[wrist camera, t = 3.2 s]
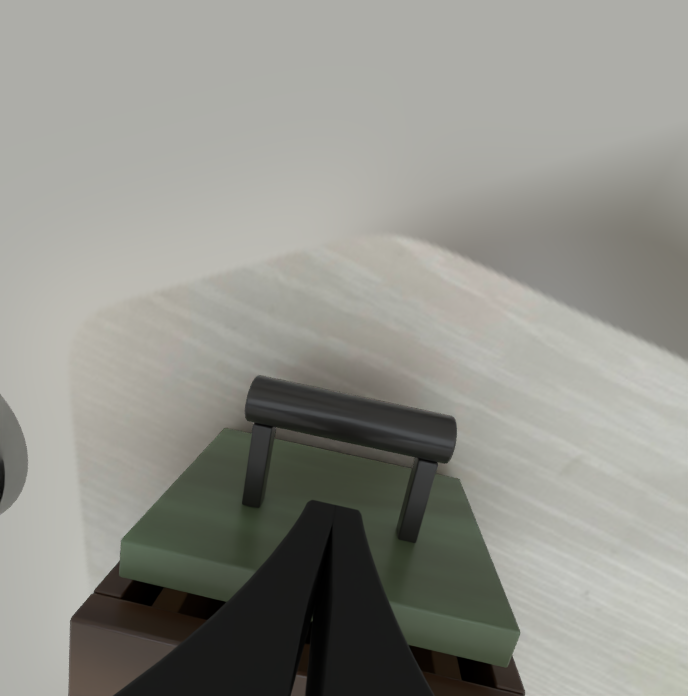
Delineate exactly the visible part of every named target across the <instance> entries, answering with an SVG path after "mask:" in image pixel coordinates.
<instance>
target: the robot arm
mask: <svg viewBox="0 0 688 696" xmlns="http://www.w3.org/2000/svg"><path fill="white" fill-rule="evenodd" d="M312 616H313V619H312ZM311 619H312V629H311V639H310V649H309V659H308V670H307V680H306V690H305V696H435V695H434V694H433V692H432V690H431V688H430V686H429V684H428V683H427V681H426V679H425V677H424V675H423V673H422V671H421V669H420V667H419V666H418V664H417V662H416V660H415V658H414V656H413V654H412V652H411V650H410V648H409V646H408V644H407V641H406V639H405V637H404V635H403V633H402V631H401V629H400V626H399V624H398V622H397V620H396V617H395V615H394V613H393V610H392V608H391V605H390V603H389V601H388V598H387V596H386V593H385V591H384V588H383V585H382V583H381V580H380V577H379V574H378V572H377V569H376V566H375V563H374V560H373V557H372V554H371V551H370V547H369V544H368V541H367V537H366V533H365V529H364V525H363V520H362V515H361V513H360V511H359V510H356V509H352V508H347V507H343V506H338V505H334V504H330V503H325V502H321V501H316V500H310V501H309V502H307V503H306V506H305V508H304V510H303V511H302V513H301V515H300V516H299V518H298V519H297V521H296V522H295V524H294V525H293V527H292V528H291V530H290V531H289V532H288V534H287V535H286V536H285V538H284V539H283V540H282V541H281V543H280V544H279V545H278V546H277V548H276V549H275V550H274V552H273V553H272V554H271V555H270V556H269V558H268V559H267V560H266V561H265V562H264V563H263V564H262V565H261V567H260V568H259V569H258V570H257V571H256V572H255V573H254V574H253V575H252V577H251V578H250V579H249V580H248V581H247V582H246V583H245V584H244V585H243V586H242V587H241V588H240V589H239V590H238V591H237V592H236V593H235V594H234V595H233V596H232V597H231V598H230V599H229V600H228V601H227V602H226V603H225V604H224V605H223V606H222V607H221V608H220V609H219V610H218V611H217V612H216V613H215V614H214V615H212V616H211V617H210V618H209V619H208V620H207V621H206V622H205V623H204V624H202V625H201V626H200V627H199V628H198V629H197V630H195V631H194V632H193V633H192V634H191V635H190V636H189V637H187V638H186V639H185V640H184V641H183V642H182V643H180V644H179V645H178V646H177V647H176V648H174V649H173V650H172V651H171V652H170V653H168V654H167V655H166V656H165V657H163V658H162V659H161V660H160V661H158V662H157V663H156V664H155V665H153V666H152V667H151V668H149V669H148V670H147V671H145V672H144V673H142V674H141V675H140V676H138V677H137V678H136V679H134V680H133V681H132V682H130V683H129V684H128V685H126V686H125V687H124V688H122V689H121V690H120V691H118V692H117V693H116V694H114V695H113V696H291V693H292V689H293V686H294V682H295V678H296V675H297V671H298V667H299V664H300V660H301V656H302V653H303V649H304V645H305V642H306V638H307V634H308V630H309V627H310V623H311Z"/></svg>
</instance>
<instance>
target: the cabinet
mask: <svg viewBox="0 0 688 696" xmlns="http://www.w3.org/2000/svg"><path fill="white" fill-rule="evenodd" d="M119 567H120V561H119V562H118V563H117V565H116V566H115V567H114V568H113V569H112V570H111V571H110V573H109V574H108V575H107V576H106V577H105V578H104V580H103V581H102V582H101V583H100V584H99V585H98V586H97V588H96V589H95V590H94V593H93V594H91V595H90V596H89V598H88V599H87V600H86V601H85V602H84V603H83V605H82V606H81V607H80V608H79V609H78V610H77V612H76V613H75V614H74V615H73V616H72V618H71V620H70V650H69V694H68V696H113V695H114V694H116V693H117V692H118V691H120V690H121V689H122V688H124V687H125V686H126V685H128V684H129V683H130V682H132V681H133V680H134V679H136V678H137V677H138V676H140V675H141V674H142V673H144V672H145V671H147V670H148V669H149V668H151V667H152V666H153V665H155V664H156V663H157V662H158V661H160V660H161V659H162V658H163V657H165V656H166V655H167V654H168V653H170V652H171V651H172V650H173V649H174V648H176V647H177V646H178V645H179V644H180V643H182V642H183V641H184V640H185V639H186V638H187V637H189V636H190V635H191V634H192V633H193V632H194V631H195V630H197V629H198V628H199V627H200V626H201V625H202V624H204V623H205V622H206V621H207V620H206V619H202V618H198V617H194V616H189V615H185V614H181V613H177V612H173V611H168V610H164V609H160V608H156V607H151V606H152V605H153V603H154V602H155V600H156V599H157V597H158V595H159V594H160V592H161V591H162V589H163V588H164V587H161V586H157V585H153V584H148V583H144V582H140V581H136V580H131V579H127V578H123V577H120V576H119ZM309 649H310V644H307V643H305V645H304V649H303V653H302V656H301V660H300V664H299V667H298V671H297V675H296V678H295V682H294V686H293V689H292V693H291V696H305V690H306V680H307V670H308V659H309ZM457 660H458V664H459V669H460V674H461V679H462V680H458V679H454V678H450V677H446V676H442V675H437V674H433V673H429V672H425V671H422V673H423V675H424V677H425V679H426V681H427V683H428V684H429V686H430V688H431V690H432V692H433V694H434V695H435V696H525V690H524V687H523V684H522V681H521V679H520V676H519V673H518V670H517V667H516V664H515V662H514V659H513V656H512V657H511V659H510V662H509V665H508V667H506V668H505V667H501V666H496V665H492V664H488V663H484V662H479V661H475V660H471V659H467V658H462V657H458V656H457Z"/></svg>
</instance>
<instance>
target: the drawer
mask: <svg viewBox="0 0 688 696" xmlns="http://www.w3.org/2000/svg"><path fill="white" fill-rule="evenodd" d="M245 418H246V420H247V421H250V422H254V424H253V429H252V434H251V433H247V432H242V431H238V430H233V429H228V428H224V430H223V431H222V432H221V433H220V434H219V435H218V436H217V437H216V438H215V439H214V440H213V441H212V442H211V444H210V445H209V446H208V447H207V448H206V449H205V450H204V451H203V452H202V453H201V454H200V455H199V457H198V458H197V459H196V460H195V461H194V462H193V463H192V464H191V465H190V466H189V467H188V468H187V469H186V471H185V472H184V473H183V474H182V475H181V476H180V477H179V478H178V479H177V480H176V481H175V482H174V483H173V485H172V486H171V487H170V488H169V489H168V490H167V491H166V492H165V493H164V494H163V495H162V496H161V498H160V499H159V500H158V501H157V502H156V503H155V504H154V505H153V506H152V507H151V508H150V509H149V510H148V512H147V513H146V514H145V515H144V516H143V517H142V518H141V519H140V520H139V521H138V522H137V523H136V524H135V526H134V527H133V528H132V529H131V530H130V531H129V532H128V533H127V534H126V535H125V536H124V537H123V539H122V540H121V550H120V567H119V576H120V577H123V578H127V579H131V580H136V581H140V582H144V583H148V584H153V585H157V586H161V587H164V588H163V589H162V591H161V592H160V594H159V595H158V597H157V599H156V600H155V602H154V603H153V605H152V606H151V607H156V608H160V609H164V610H168V611H173V612H177V613H181V614H185V615H189V616H194V617H198V618H202V619H206V620H208V619H209V618H210V617H211V616H212V615H214V614H215V613H216V612H217V611H218V610H219V609H220V608H221V607H222V606H223V605H224V604H225V603H226V602H227V601H228V600H229V599H230V598H231V597H232V596H233V595H234V594H235V593H236V592H237V591H238V590H239V589H240V588H241V587H242V586H243V585H244V584H245V583H246V582H247V581H248V580H249V579H250V578H251V577H252V575H253V574H254V573H255V572H256V571H257V570H258V569H259V568H260V567H261V565H262V564H263V563H264V562H265V561H266V560H267V559H268V558H269V556H270V555H271V554H272V553H273V552H274V550H275V549H276V548H277V546H278V545H279V544H280V543H281V541H282V540H283V539H284V538H285V536H286V535H287V534H288V532H289V531H290V530H291V528H292V527H293V525H294V524H295V522H296V521H297V519H298V518H299V516H300V515H301V513H302V511H303V510H304V508H305V506H306V503H307V502H309V501H310V500H316V501H321V502H325V503H330V504H334V505H338V506H343V507H347V508H352V509H356V510H359V511H360V513H361V515H362V520H363V525H364V529H365V533H366V537H367V541H368V544H369V547H370V551H371V554H372V557H373V560H374V563H375V566H376V569H377V572H378V574H379V577H380V580H381V583H382V585H383V588H384V591H385V593H386V596H387V598H388V601H389V603H390V605H391V608H392V610H393V613H394V615H395V617H396V620H397V622H398V624H399V626H400V629H401V631H402V633H403V635H404V637H405V639H406V641H407V644H408V646H409V648H410V650H411V652H412V654H413V656H414V658H415V660H416V662H417V664H418V666H419V667H420V669H421V671H425V672H429V673H433V674H437V675H442V676H446V677H450V678H454V679H458V680H462V679H461V674H460V669H459V664H458V660H457V656H458V657H462V658H467V659H471V660H475V661H479V662H484V663H488V664H492V665H496V666H501V667H505V668H506V667H508V665H509V662H510V659H511V657H512V654H513V652H514V649H515V646H516V644H517V641H518V639H519V636H520V629H519V627H518V624H517V622H516V619H515V617H514V614H513V612H512V609H511V607H510V604H509V602H508V599H507V597H506V594H505V592H504V589H503V587H502V584H501V582H500V579H499V577H498V574H497V572H496V569H495V567H494V564H493V562H492V559H491V557H490V554H489V552H488V549H487V547H486V544H485V542H484V539H483V537H482V534H481V532H480V529H479V527H478V524H477V522H476V519H475V517H474V514H473V512H472V509H471V507H470V504H469V502H468V499H467V497H466V494H465V492H464V489H463V487H462V484H461V482H460V479H458V478H453V477H449V476H444V475H440V474H436V470H437V467H438V463H437V462H439V463H444V464H445V463H448V462H449V461H450V459H451V457H452V455H453V452H454V449H455V444H456V438H457V425H456V420H455V418H454V417H453V416H450V415H445V414H441V413H436V412H431V411H427V410H422V409H417V408H412V407H408V406H403V405H398V404H393V403H389V402H384V401H379V400H375V399H370V398H365V397H360V396H356V395H351V394H346V393H341V392H337V391H332V390H327V389H323V388H318V387H313V386H308V385H304V384H299V383H294V382H289V381H285V380H280V379H275V378H271V377H266V376H261V375H259V376H256V377H255V379H254V380H253V382H252V384H251V386H250V389H249V392H248V395H247V399H246V405H245ZM276 427H278V428H282V429H287V430H291V431H296V432H301V433H305V434H310V435H314V436H319V437H324V438H328V439H333V440H338V441H342V442H347V443H351V444H356V445H361V446H365V447H370V448H375V449H379V450H384V451H388V452H393V453H398V454H402V455H407V456H412V457H415V459H414V462H413V466H412V468H408V467H403V466H398V465H394V464H389V463H385V462H380V461H375V460H371V459H366V458H362V457H357V456H352V455H348V454H343V453H339V452H334V451H329V450H325V449H320V448H316V447H311V446H306V445H302V444H297V443H293V442H288V441H283V440H279V439H274V437H275V431H276ZM312 619H313V616H312ZM312 619H311V623H310V627H309V630H308V634H307V638H306V642H305V643H307V644H310V639H311V629H312Z"/></svg>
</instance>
